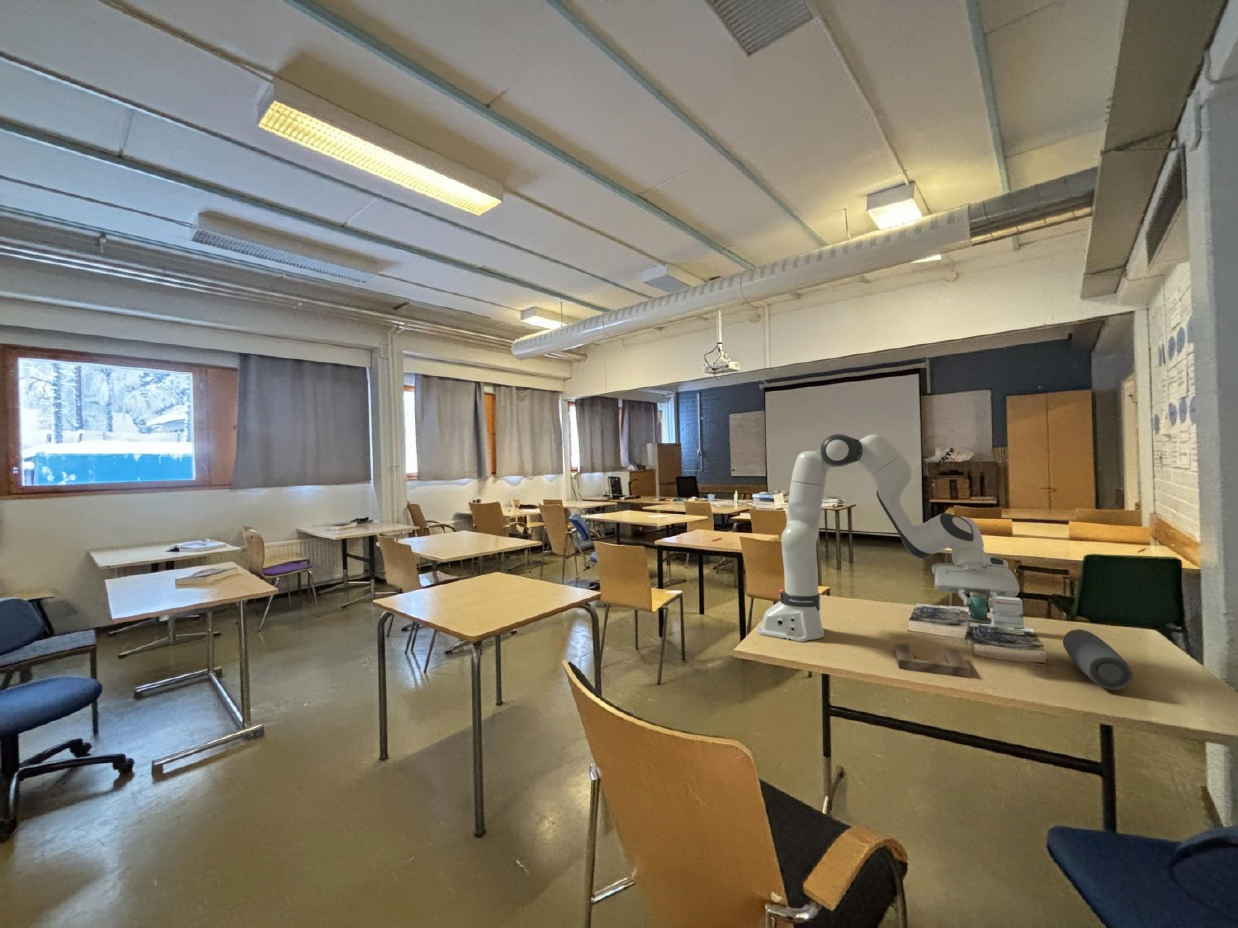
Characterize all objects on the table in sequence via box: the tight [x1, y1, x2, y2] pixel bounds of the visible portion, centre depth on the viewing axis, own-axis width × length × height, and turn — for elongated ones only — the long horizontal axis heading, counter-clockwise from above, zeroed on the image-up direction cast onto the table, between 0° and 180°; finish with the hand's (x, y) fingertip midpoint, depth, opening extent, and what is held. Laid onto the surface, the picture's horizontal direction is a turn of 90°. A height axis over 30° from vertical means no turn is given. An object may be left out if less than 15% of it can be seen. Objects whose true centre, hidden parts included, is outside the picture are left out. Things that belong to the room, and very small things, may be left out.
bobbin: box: [965, 591, 992, 625], centre depth 142 cm, size 6×6×8 cm
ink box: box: [988, 596, 1025, 630], centre depth 169 cm, size 9×5×12 cm, turn 61°
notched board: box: [893, 643, 971, 678], centre depth 145 cm, size 17×14×2 cm
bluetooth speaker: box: [1062, 628, 1134, 691], centre depth 133 cm, size 23×9×10 cm, turn 151°
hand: (979, 605), depth 141 cm, fingers closed on bobbin, 4 cm apart
